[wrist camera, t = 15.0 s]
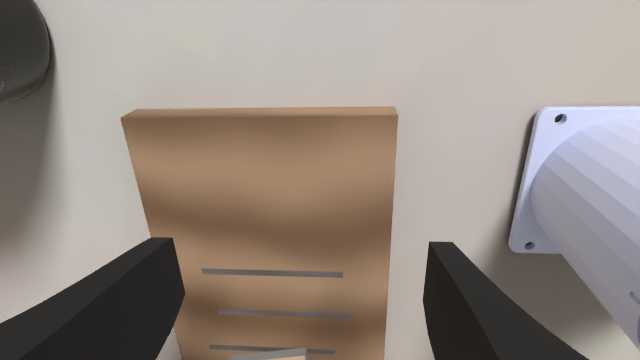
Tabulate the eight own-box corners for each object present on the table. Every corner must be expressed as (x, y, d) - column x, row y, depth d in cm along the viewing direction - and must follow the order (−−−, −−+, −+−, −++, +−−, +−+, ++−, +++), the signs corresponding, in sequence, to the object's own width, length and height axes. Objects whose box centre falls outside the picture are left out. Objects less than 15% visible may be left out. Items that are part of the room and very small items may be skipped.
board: (136, 109, 20) (120, 117, 18) (394, 106, 19) (397, 115, 17) (208, 413, 30) (201, 433, 29) (377, 423, 29) (378, 443, 28)
